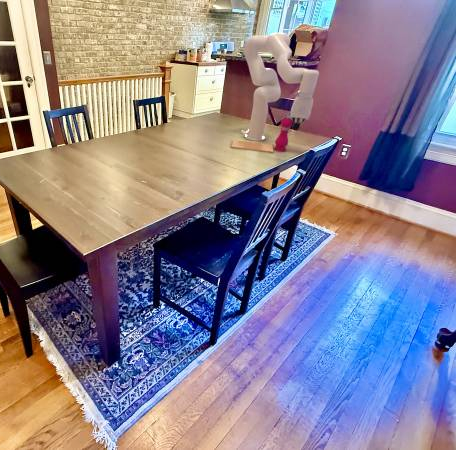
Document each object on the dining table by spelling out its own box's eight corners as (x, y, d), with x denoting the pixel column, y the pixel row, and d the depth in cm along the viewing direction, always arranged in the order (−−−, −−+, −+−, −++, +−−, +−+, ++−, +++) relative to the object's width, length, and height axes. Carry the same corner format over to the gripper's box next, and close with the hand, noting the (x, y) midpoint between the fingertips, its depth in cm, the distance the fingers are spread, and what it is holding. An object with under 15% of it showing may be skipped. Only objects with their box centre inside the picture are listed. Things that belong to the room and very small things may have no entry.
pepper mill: (286, 149, 183) (295, 114, 173) (285, 152, 178) (294, 117, 167) (274, 147, 186) (282, 113, 175) (272, 150, 180) (281, 115, 170)
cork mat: (231, 147, 182) (231, 146, 182) (233, 141, 194) (233, 140, 194) (273, 152, 177) (273, 151, 177) (272, 145, 189) (272, 144, 188)
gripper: (291, 95, 163) (282, 130, 173) (321, 97, 160) (310, 133, 169) (289, 93, 169) (281, 126, 179) (318, 95, 166) (308, 129, 176)
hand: (295, 129), depth 174 cm, fingers closed
